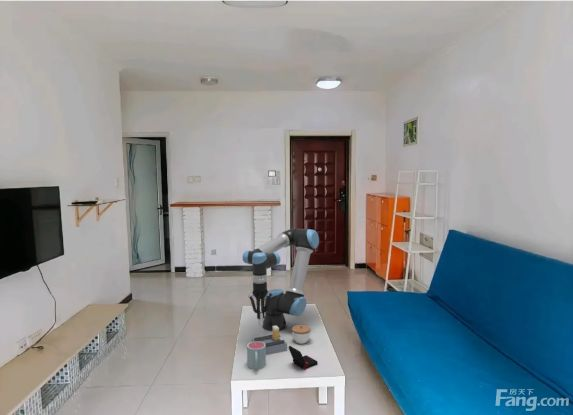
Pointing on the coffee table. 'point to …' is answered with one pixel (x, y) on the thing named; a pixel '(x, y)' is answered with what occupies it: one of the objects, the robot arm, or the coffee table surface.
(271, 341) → the switch panel
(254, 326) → the coffee table surface
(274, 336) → the handle
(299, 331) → the lidded jar
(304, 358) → the handheld gaming console
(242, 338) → the coffee table surface
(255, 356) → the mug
